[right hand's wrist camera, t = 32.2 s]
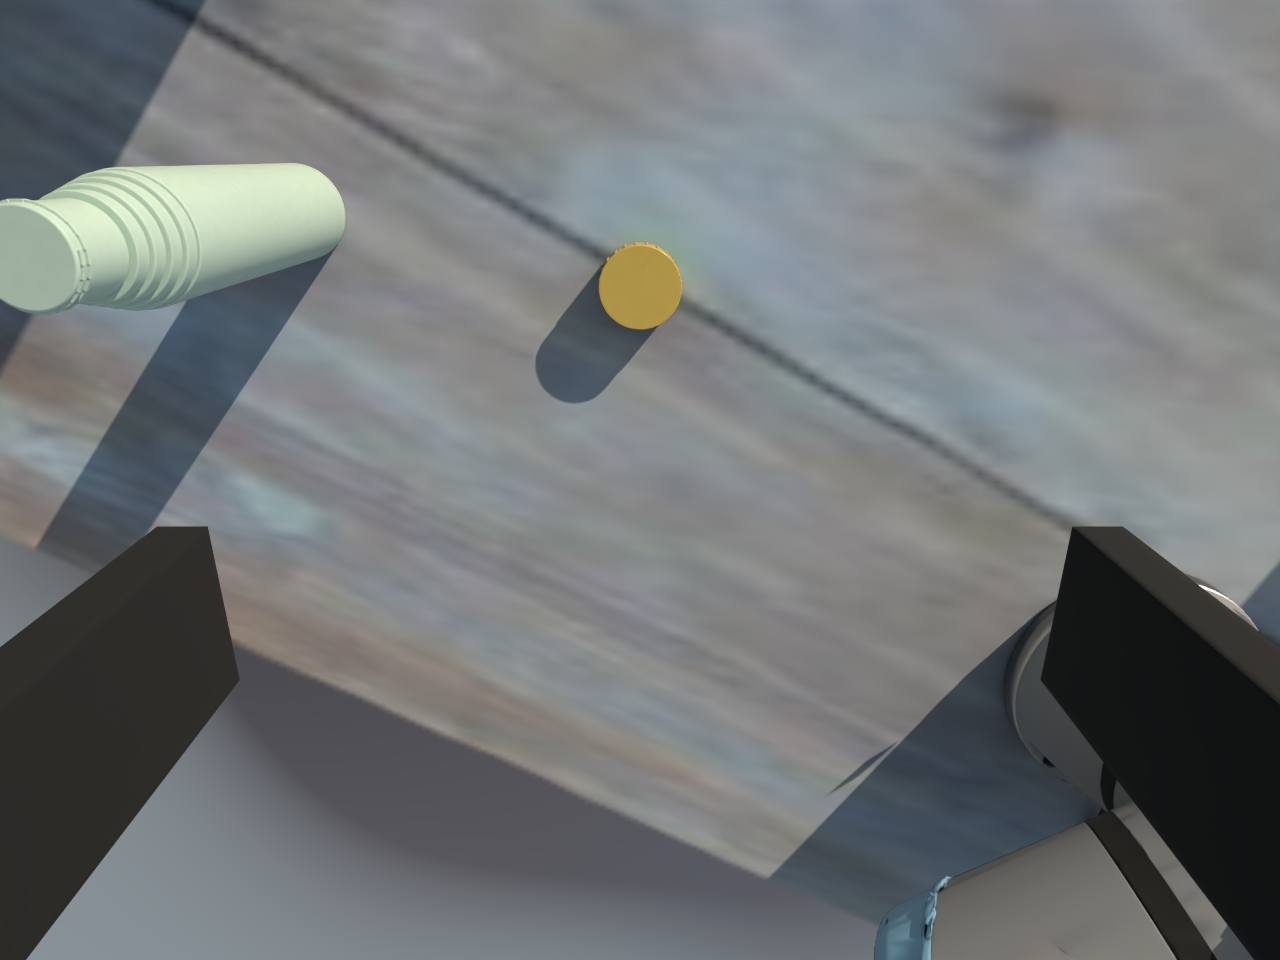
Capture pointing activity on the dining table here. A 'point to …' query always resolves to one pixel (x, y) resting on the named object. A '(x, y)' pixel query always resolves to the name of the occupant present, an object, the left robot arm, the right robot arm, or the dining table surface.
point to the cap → (640, 286)
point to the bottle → (163, 234)
